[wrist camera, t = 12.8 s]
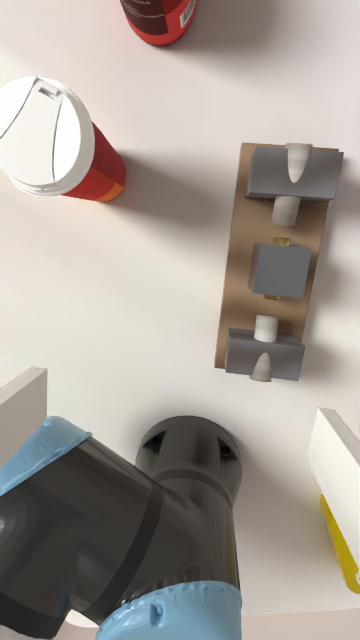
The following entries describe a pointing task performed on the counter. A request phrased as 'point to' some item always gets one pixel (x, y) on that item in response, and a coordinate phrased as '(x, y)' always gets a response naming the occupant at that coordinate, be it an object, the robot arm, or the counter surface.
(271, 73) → the counter surface
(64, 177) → the coffee cup
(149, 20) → the canned food
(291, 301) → the shaft stand
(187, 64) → the counter surface
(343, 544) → the element tile
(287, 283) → the coupler
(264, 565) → the counter surface
